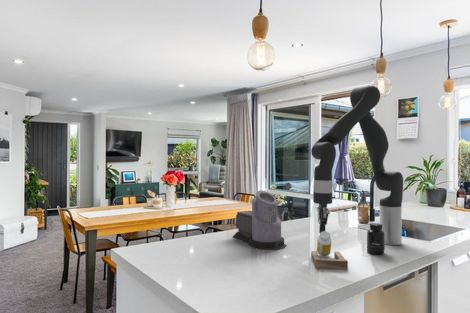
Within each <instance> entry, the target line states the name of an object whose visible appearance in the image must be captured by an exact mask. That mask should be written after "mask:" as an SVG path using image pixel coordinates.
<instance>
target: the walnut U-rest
mask: <svg viewBox="0 0 470 313" xmlns="http://www.w3.org/2000/svg"><path fill="white" fill-rule="evenodd" d="M310 252H311V255H310V257H311V260H312V262H313V264H314V267H315V269H318V270H321V269H323V270H344V271H345V270H347V271H348V269H349V268H348V267H349V261H348V260H347V259H346V258H345V257H344V256H343V255H342V253H341V251H334V253H333V254H334V255H333V256H334V257H333V258H320V255H319V254H318V253H317V250H311V251H310Z"/></svg>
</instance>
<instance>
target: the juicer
mask: <svg viewBox="0 0 470 313" xmlns="http://www.w3.org/2000/svg"><path fill="white" fill-rule="evenodd" d="M255 194H256V195H255V196H254V197H253V198H252V199H251V210H244V211H237V212H236V216H235V228H236V229H237V232H235V233H234V234H233V236H232V238H233V239H236V240H238V239H239V241H241V240H242V241H241V242H243V241H244V242H243V243H246V242H247V244H248V243H249V244H248V246H249V245H250V246H251V248H253V249H256V248H257V250H260V251H263V250H274V251H280V250H284V249H286V248H287V247H288V244H286V243H285V237H283V236H282V220H281V219H280V218H279V216H278V200H277V198H276V197H275V196H274V195H273V194H272V193H270V192H268V191H266V190H258V191H256V193H255ZM250 246H249V247H250ZM286 246H287V247H286ZM285 247H286V248H285Z"/></svg>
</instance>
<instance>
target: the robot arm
mask: <svg viewBox="0 0 470 313" xmlns="http://www.w3.org/2000/svg"><path fill="white" fill-rule="evenodd" d="M380 100H381V91H380V90H379V88H378V87H377V86H373V85H366V86H358V87H355V88H353V89H351V91H350V94H349V101H350V105H351V107H352V109H350V110H348V111H347V112H346V113H345V114H343V115H342V116H340V117H339V118H338V119H337V120H336V121H335V122H334V123H333V124H332V126H331V127H330V128H329V130H328V131H327V132H326V133H325V134H323V135H322V136H321V137H320V138H319V139H318V140H316V141H315V143H314V144H313V145H312V147H311V152H310V153H311V156H312V158H314V159H315V160H318V161H319V164H318V165H316V166H315V167H314V170H313V171H314V172H313V173H314V174H313V175H314V176H313V185H312V186H313V187H312V188H313V189H312V190H313V194H312V197H313V198H312V200H313V201H312V202H313V203H314V204H318V207H316V211H317V222H318V225H319V226H318V229H319V230H318V231H319V232H318V233H319V234H320V233H321V232H322V231H326V226H327V224H328V219H329V208H328V205H331V204H333V169H334V166H335V165H334V164H335V162H336V158H337V150H336V147H335V146H337V145H339V144H341V143H342V142H343V141H344V140H345V138H346V137H347V136H348V134H349V133H350V132H351V131H352V130H353V128H354V127H355V126H356V125H357V124H359V127H360V130H361V133H362V136H363V141H364V143H365V146H366V149H367V153H368V156H369V160H370V163H371V166H372V167H371V168H372V172H373V178H374V182H375V185H376V187H377V189H378V190H379V191H385V192H390V193H389V194H390V195H388V196H386V197H383V198H380V199H379V224H382V231H383V232H384V233H385V245H390V246H398V245H399V246H400V245H402V244H403V243H402V236H403V235H402V234H403V233H402V228H403V227H402V221H403V220H402V215H403V213H402V207H403V206H402V203H403V195H404V176H403V175H402V173H401V172H399V171H389V170H386V169H385V165H384V161H385V157H386V156H387V153H388V150H389V147H390V146H389V141H388V137H387V134H386V131H385V129H384V128H383V127H382V126H381V125H380V124H379V122H378V121H377V120H376V119H375V118H374V116H373V115H372V114H371V111H372V110H373V109H374V108H375V107H376V106H377V105H378V104H379V103H380Z"/></svg>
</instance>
